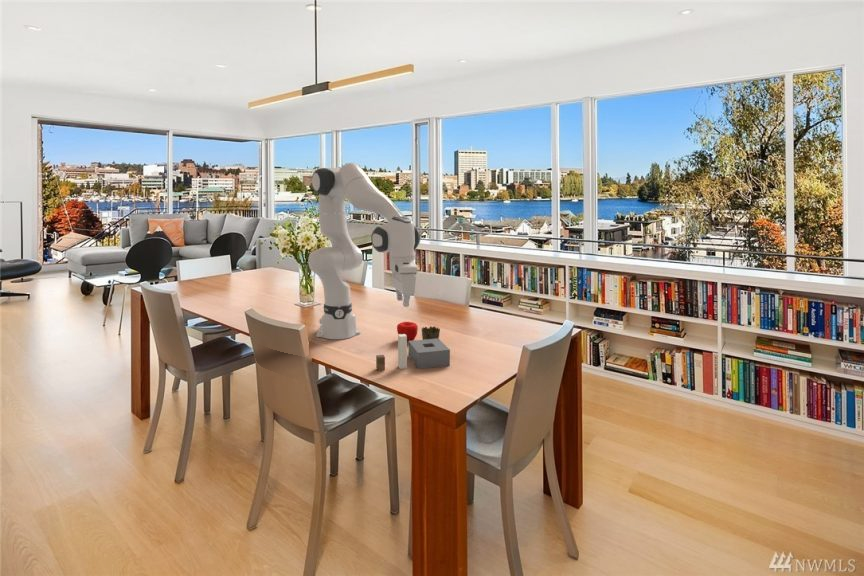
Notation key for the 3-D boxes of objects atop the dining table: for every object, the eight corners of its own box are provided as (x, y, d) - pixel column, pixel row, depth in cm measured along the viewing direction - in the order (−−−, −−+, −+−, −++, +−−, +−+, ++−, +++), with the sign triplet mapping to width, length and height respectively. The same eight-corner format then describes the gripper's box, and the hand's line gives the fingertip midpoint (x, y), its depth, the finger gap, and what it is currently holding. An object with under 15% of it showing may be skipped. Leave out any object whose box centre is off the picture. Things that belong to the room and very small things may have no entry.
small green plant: (423, 351, 188) (424, 331, 186) (419, 345, 195) (419, 326, 193) (441, 349, 190) (442, 330, 188) (436, 344, 197) (437, 325, 195)
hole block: (408, 355, 183) (408, 340, 181) (438, 352, 186) (438, 338, 185) (418, 368, 169) (418, 352, 168) (449, 365, 173) (450, 349, 172)
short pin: (376, 368, 169) (376, 355, 168) (383, 367, 170) (383, 354, 169) (377, 371, 167) (377, 357, 166) (384, 370, 168) (384, 357, 167)
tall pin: (398, 366, 172) (398, 334, 169) (405, 365, 172) (405, 334, 170) (399, 368, 169) (399, 336, 167) (406, 368, 170) (406, 336, 168)
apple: (394, 338, 203) (394, 321, 202) (414, 336, 206) (414, 319, 204) (399, 345, 195) (399, 326, 193) (420, 343, 198) (420, 325, 196)
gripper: (387, 260, 172) (387, 297, 175) (399, 269, 153) (400, 310, 156) (404, 259, 174) (404, 296, 177) (418, 268, 155) (418, 309, 158)
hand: (402, 303), depth 166 cm, fingers open, 8 cm apart
